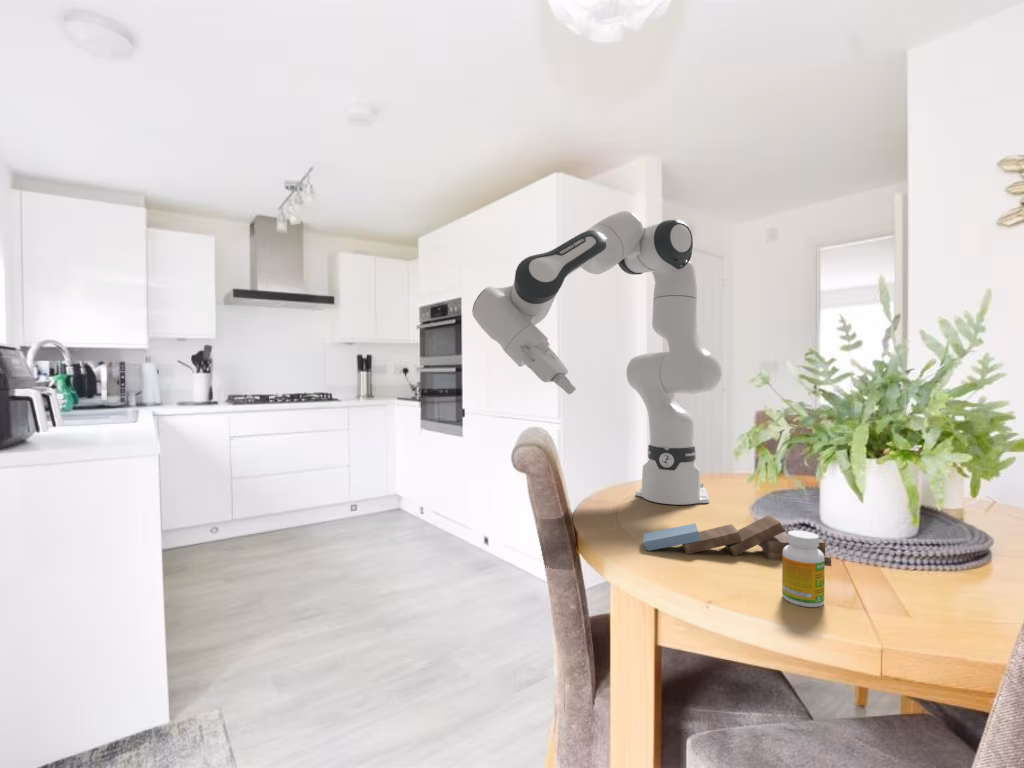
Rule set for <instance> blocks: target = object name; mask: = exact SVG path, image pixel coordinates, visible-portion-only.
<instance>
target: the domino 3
mask: <svg viewBox="0 0 1024 768" xmlns="http://www.w3.org/2000/svg"><path fill="white" fill-rule="evenodd" d="M737 531H738V532H739V534H740V538H741V541H742V542H738V543H733V544H729V545H725V546H724V548H726V549H727V550H728V551H729V552H730V553H731V555H733V556H734V557H736V556H738V555H739V554H742V553H744V552H745V551H747V550H750V549H752V548H754V547H756V546H759V545H758V544H760V543H762V542H764V541H766V540H768V539H770V538H772V537H774V536H776V535H778V534H783V533H784V532H785V531H786V530H785V528H784V526H783V525H782V523H781V522H780V521H779V520H777V519H776V518H774V517H772V516H771V515H770V514H767V515H766V516H764V517H762V518H760V519H758V520H756V521H754V522H752V523H750V524H748V525H745V526H744V527H742V528H740V529H737Z"/></svg>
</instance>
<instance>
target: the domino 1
mask: <svg viewBox="0 0 1024 768" xmlns="http://www.w3.org/2000/svg"><path fill="white" fill-rule="evenodd" d="M698 532H699V530H698V527H697V526H696V523H690V524H686V525H680V526H675V527H671V528H665V529H659V530H655V531H650V532H645V533H642V534H643V545H644V548H645V551H646V550H648V551H647V552H650V551H654V550H655V551H656V550H659V549H660V550H661V549H665V548H670V547H671V548H672V547H675V546H679V545H681V546H682V544H687V543H692V542H697V541H701V540H700V536H699V533H698Z"/></svg>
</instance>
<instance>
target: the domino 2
mask: <svg viewBox="0 0 1024 768" xmlns="http://www.w3.org/2000/svg"><path fill="white" fill-rule="evenodd" d="M698 533H699V536H700V540H701V541H697V542H692V543H687V544H682V545H681V546H682V548H683V550H684V553H685V554H686V555H690V554H694V553H700V552H702V551H706V550H707V551H708V550H711V549H712V550H713V549H716V548H721V547H725V545H729V544H733V543H738V542H742V541H741V538H740V534H739V532H738V529H737V528H736V527H735V526H734V525H733V524H732V523H730V524H726V525H721V526H718V527H714V528H709V529H705V530H702V531H701V530H700V531H698Z"/></svg>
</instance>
